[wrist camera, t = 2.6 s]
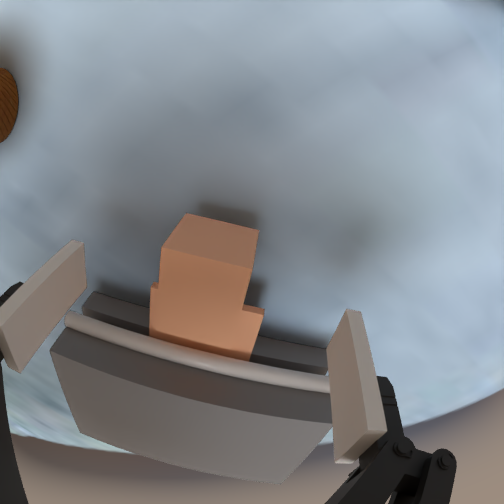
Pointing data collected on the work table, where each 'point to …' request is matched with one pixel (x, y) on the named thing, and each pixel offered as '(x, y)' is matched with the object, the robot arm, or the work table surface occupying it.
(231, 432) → the block
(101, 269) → the work table surface
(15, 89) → the disposable coffee cup
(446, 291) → the work table surface
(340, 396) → the robot arm
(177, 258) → the orange stepped block
